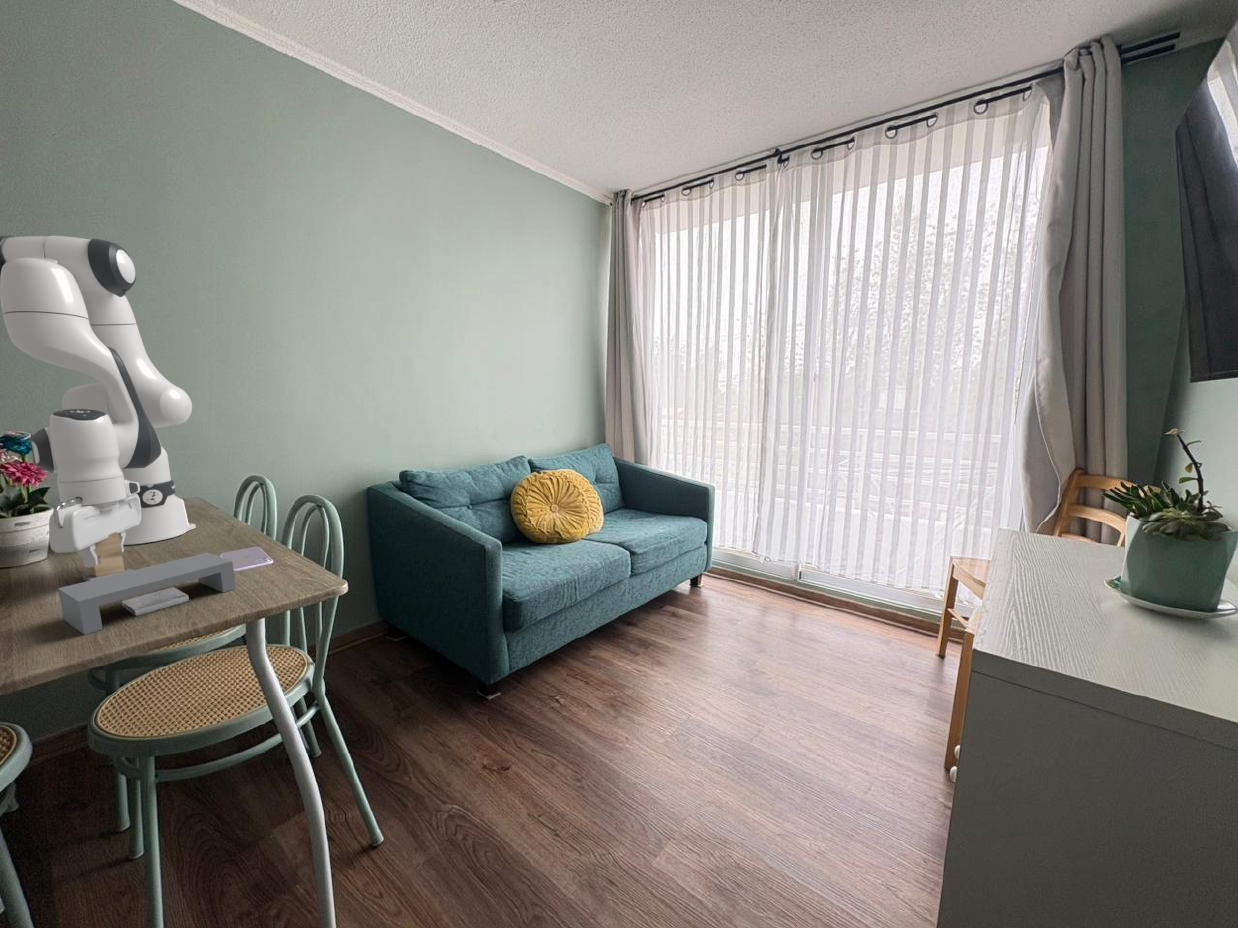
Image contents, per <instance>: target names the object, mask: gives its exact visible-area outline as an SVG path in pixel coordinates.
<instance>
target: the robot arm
mask: <svg viewBox="0 0 1238 928" xmlns="http://www.w3.org/2000/svg"><path fill="white" fill-rule="evenodd" d="M136 279H137V273H136V268H135V264H134V262H133V260H132V258H131V256H130V254H129V253H128V252H127V251H126V250H125V249H124V248H123V247H121V246H120V245H119V244H118V243H116V242H113V241H108V240H106V239H105V240H104V239H99V238H92V239H88V238H81V237H76V236H66V235H50V236H47V235H37V236H36V235H34V236H33V235H28V236H27V235H26V236H14V235H0V306H1V312H2V316H3V321H4V325H5V328H6V331H7V334H8V337H9V339H10V341H11V343H12V344H13V345H15V347H17V348H18V349H19V350H20V351H22V352H23V353H24V354H26V355H27V356H30V357H32V358H34V359H36V360H38V361H41V362H43V363H47V364H49V365H53V366H57V367H61V368H64V369H68V370H71V371H72V370H73V371H75V372H79V373H82V374H84V375H86V376H90V377H91V378H92V379H95V380H97V381H98V382H95V383H89V384H82V385H78V386H75V387H71V388H70V389H68V390H67V391H66V392H65V393H64V394H63V397H62V400H61V408H62V410H58V411H55V412H52V413H51V414H50V416H49V426H47V427H42V428H41V429H39V430H37V431H36V432H34V434H33V435H32V436H30V437H29V438H28V441H29V443H30V447H31V452H32V459H33V460H32V461H33V462H32V463H33V465H34V466H36V467H37V468H40V469H41V470H44V471H47V472H49V473H55V474H57V475H56V476H57V477H56V483H57V490H58V494H59V500H60V502H59V503H57V505H56V507H55V509H54V510H53V511H52V513H51V515H50V517H49V520H48V521H49V522H48V526H49V527H48V532H49V533H48V534H49V545H50V546H49V547H50V549H51V550H52V551H53V552H54V553H56V554H64V553H74V552H76V554H77V555H78V556H79V557H80V558H81V559H82V561H83V565H84V568H89V567H95V566H97V565H99V564H100V563H101V560H100V559H101V558H100V556H97V555H96V553H95V552H94V550H93V549H95V544H96V543H98V542H100V541H102V540H105V539H107V538H108V537H109V535H110V534H112V533H114V532H117V533H119V539H120V545H121V551H122V553H124V550H125V549H124V546H129V545H140V544H146V543H151V542H152V543H153V542H158V541H159V542H160V541H163V540H167V539H172V538H176V537H178V536H181V535H184V534H186V533H187V532H188V531H191V530H194V529H196V528H197V527H196V524H195V523H189V520H188V514H187V511H186V507H185V502H184V500H183V499H181V498H180V497H178V496H177V495H175V494H176V485H175V482H174V480H173V479H172V477H171V471H170V462H169V456H168V453H167V450H165V448H164V447H163V446H162V443H161V440H160V438H159V436H158V435H157V432H156V431H155V428H158V429H159V428H160V429H161V428H167V427H172V426H177V425H182V424H184V423H185V422H187V421H188V420H189V418H190V417H191V415H192V411H193V402H192V400H191V397H190V396H189V395H188V393H187V392H186V391H185V390H184V389H182V388H180V387H179V386H177V385H175V384H173V383H172V382H170V381H169V380H168V379H167V378H166V377H164V375H163V374H162V373H160V371H159V370H158V369H157V368H156V366H155V365H154V363H152V361H151V359H150V357H149V355H148V354H147V351H146V347H145V345H144V343H143V340H142V339H143V338H142V337H141V334H140V330H139V327H138V323H137V321H136V317H135V314H134V311H133V308H132V307H131V305H130V302H129V299H128V298H127V296H126V293H127V292H128V291H130V290H131V289H132V288H133V286H134V285H135V284H136V281H137V280H136Z"/></svg>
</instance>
